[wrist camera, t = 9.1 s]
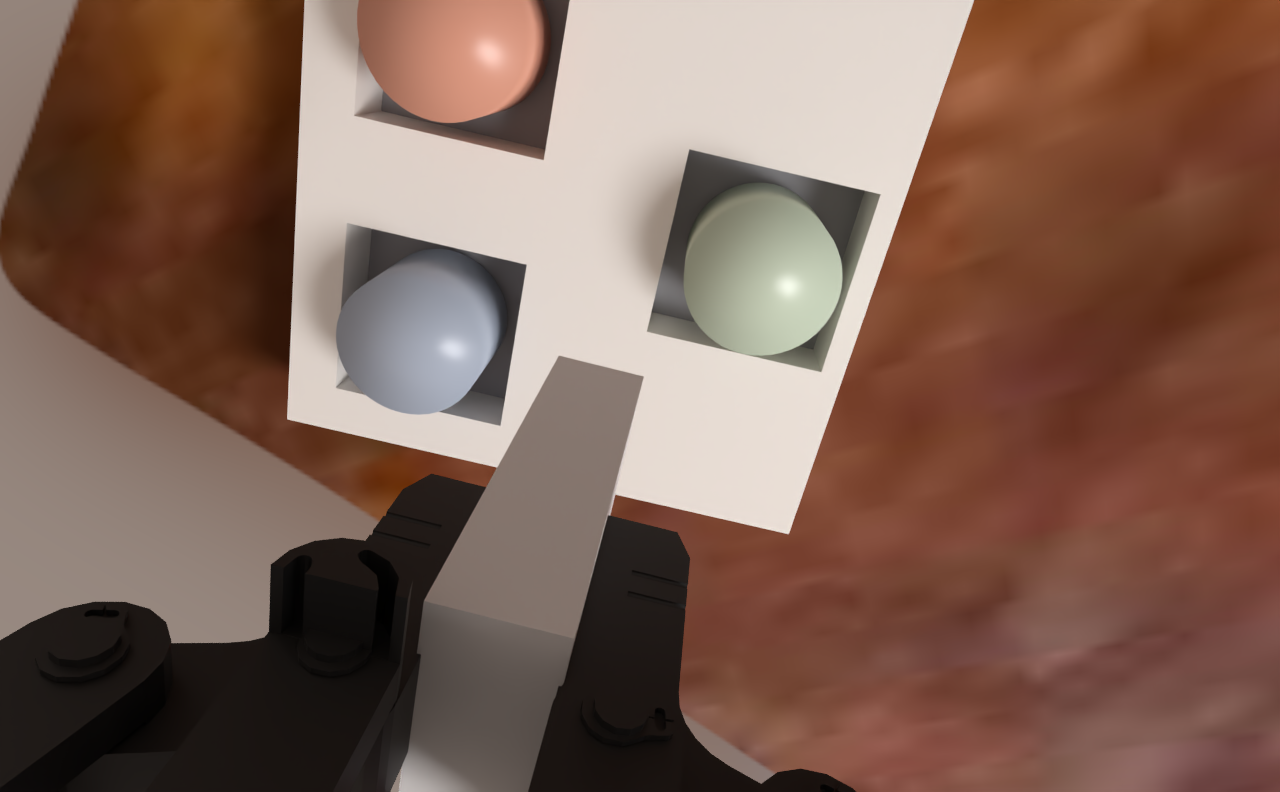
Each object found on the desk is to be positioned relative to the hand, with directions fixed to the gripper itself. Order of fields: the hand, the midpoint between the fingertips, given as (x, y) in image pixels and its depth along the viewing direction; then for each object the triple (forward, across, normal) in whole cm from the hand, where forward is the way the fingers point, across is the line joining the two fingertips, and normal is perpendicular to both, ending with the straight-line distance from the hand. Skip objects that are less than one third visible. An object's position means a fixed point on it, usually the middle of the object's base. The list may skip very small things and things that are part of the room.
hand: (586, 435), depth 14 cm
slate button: (+16, -8, -5) cm, 18 cm away
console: (+18, -3, 0) cm, 18 cm away
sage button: (+17, +3, 0) cm, 17 cm away
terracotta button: (+16, -8, +5) cm, 19 cm away
